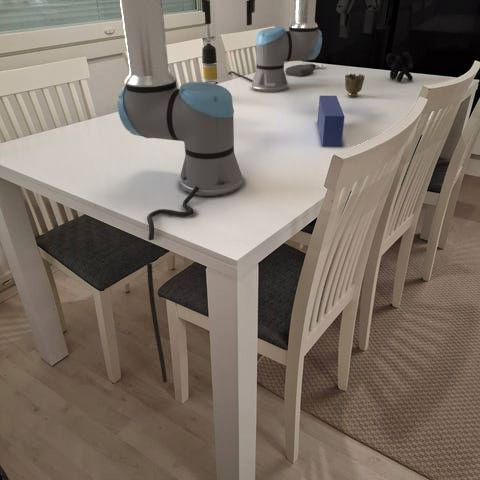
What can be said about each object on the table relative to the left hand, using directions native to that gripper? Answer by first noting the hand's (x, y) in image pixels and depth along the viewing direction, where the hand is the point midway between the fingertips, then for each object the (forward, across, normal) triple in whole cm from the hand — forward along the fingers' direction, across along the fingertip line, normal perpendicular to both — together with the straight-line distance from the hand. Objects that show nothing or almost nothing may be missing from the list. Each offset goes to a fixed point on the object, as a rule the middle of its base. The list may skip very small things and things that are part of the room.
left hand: (228, 24), depth 137 cm
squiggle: (+30, -52, -78) cm, 99 cm away
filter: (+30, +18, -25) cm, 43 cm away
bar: (+30, -34, +4) cm, 46 cm away
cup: (+30, -35, -44) cm, 64 cm away
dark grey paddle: (+30, -7, -86) cm, 91 cm away
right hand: (+4, -38, -12) cm, 40 cm away
